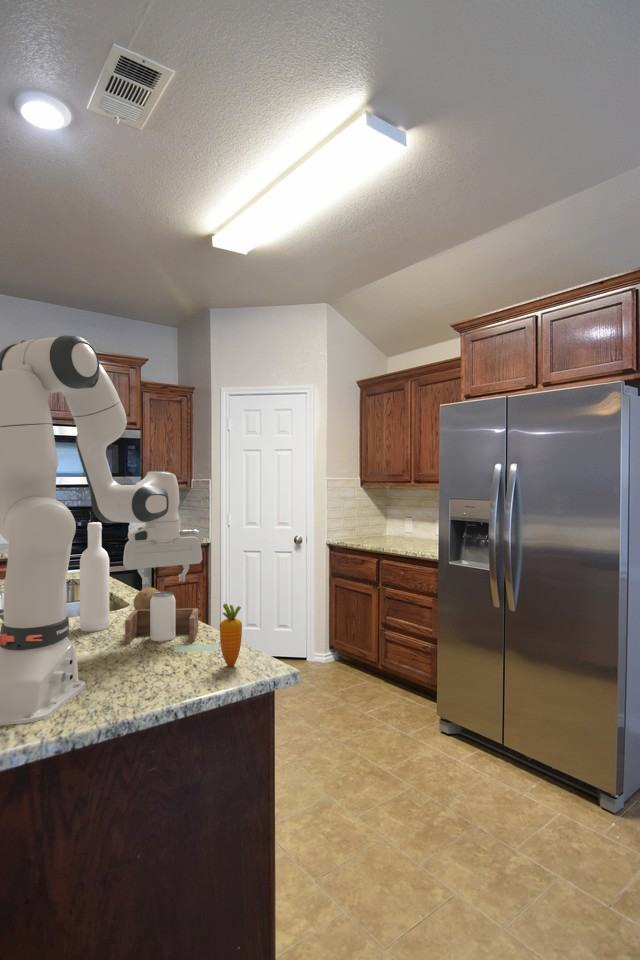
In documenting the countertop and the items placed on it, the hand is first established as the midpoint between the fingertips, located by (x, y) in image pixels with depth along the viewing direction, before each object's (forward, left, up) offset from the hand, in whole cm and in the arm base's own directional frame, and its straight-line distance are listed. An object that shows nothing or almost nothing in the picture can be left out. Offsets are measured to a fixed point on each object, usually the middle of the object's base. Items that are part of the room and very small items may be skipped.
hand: (164, 582), depth 143 cm
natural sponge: (+18, +7, -15) cm, 24 cm away
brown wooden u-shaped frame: (0, 0, -15) cm, 15 cm away
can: (0, 0, -15) cm, 15 cm away
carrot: (-24, -19, -15) cm, 34 cm away
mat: (-13, -10, -15) cm, 22 cm away
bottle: (+12, +21, -15) cm, 28 cm away
